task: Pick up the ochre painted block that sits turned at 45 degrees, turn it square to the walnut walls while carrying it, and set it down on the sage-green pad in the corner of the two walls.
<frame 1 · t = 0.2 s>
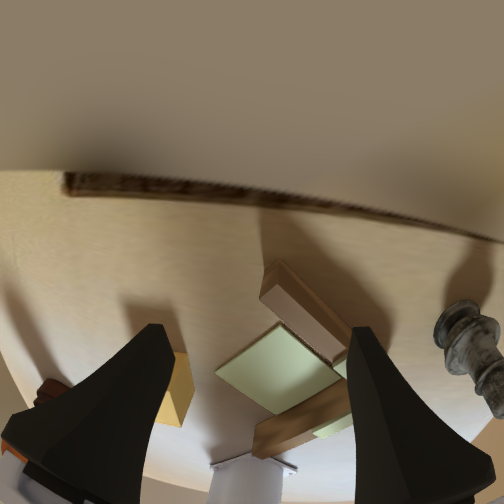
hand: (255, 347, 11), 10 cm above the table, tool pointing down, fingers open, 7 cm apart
sage pad: (278, 375, 24), on the table
figurine: (71, 400, 32), on the table
grey stone finial: (456, 324, 21), on the table
ochre block: (167, 369, 26), on the table
walnut walls: (374, 363, 23), on the table
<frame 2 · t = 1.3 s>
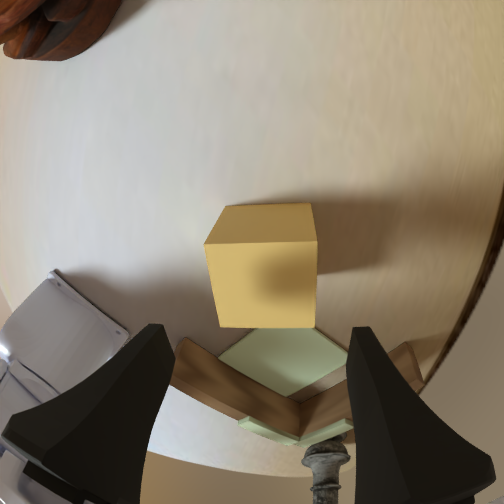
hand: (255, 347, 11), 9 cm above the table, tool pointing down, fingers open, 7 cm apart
sage pad: (285, 358, 23), on the table
figurine: (78, 7, 11), on the table
grey stone finial: (325, 435, 30), on the table
ochre block: (270, 241, 18), on the table
walnut walls: (299, 408, 27), on the table
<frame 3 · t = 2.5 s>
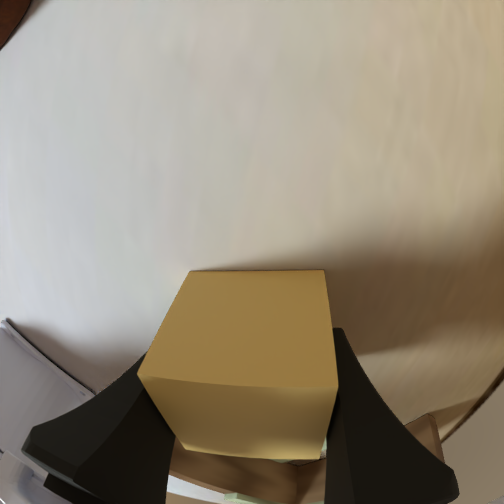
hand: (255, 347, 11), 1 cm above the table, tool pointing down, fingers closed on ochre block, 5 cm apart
ochre block: (259, 322, 12), on the table, touching gripper
walnut walls: (297, 469, 21), on the table
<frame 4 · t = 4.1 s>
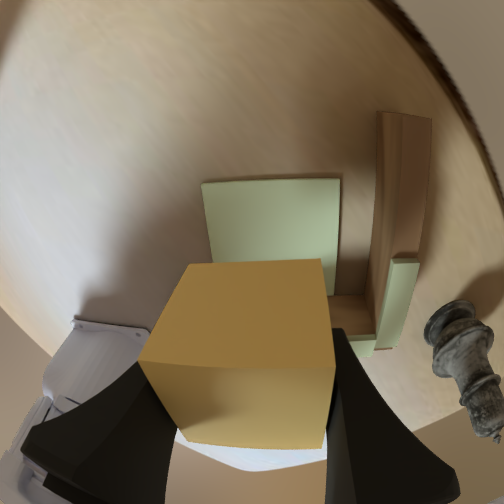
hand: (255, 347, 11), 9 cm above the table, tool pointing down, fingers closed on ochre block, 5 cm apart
sage pad: (273, 241, 18), on the table
grey stone finial: (449, 323, 20), on the table
ochre block: (259, 313, 12), point 7 cm above the table, touching gripper
walnut walls: (372, 302, 20), on the table
when the fingers open (3 cm above the table, at t = 5.7 s): ochre block drops 1 cm, resting on sage pad.
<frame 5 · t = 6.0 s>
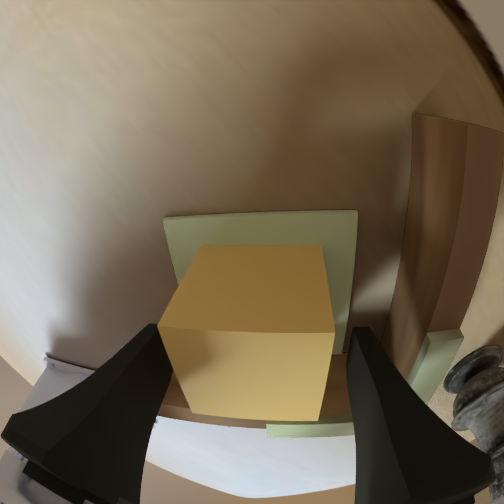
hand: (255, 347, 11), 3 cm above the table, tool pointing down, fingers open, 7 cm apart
sage pad: (263, 293, 14), on the table
grey stone finial: (472, 368, 15), on the table
ochre block: (262, 294, 13), resting on sage pad
walnut walls: (388, 358, 15), on the table
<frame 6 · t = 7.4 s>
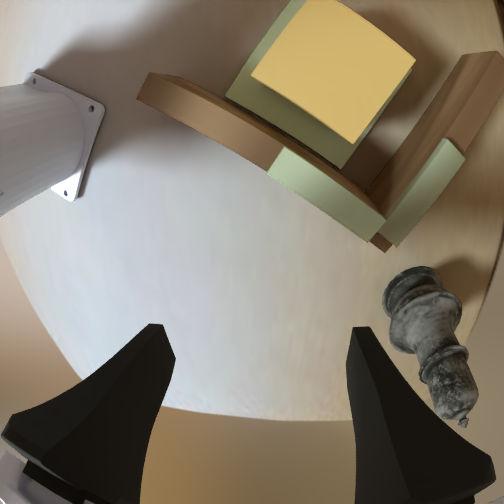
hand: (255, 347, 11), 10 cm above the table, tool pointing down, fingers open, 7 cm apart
sage pad: (321, 76, 14), on the table
grey stone finial: (412, 293, 20), on the table
ochre block: (323, 73, 14), resting on sage pad
walnut walls: (367, 208, 18), on the table
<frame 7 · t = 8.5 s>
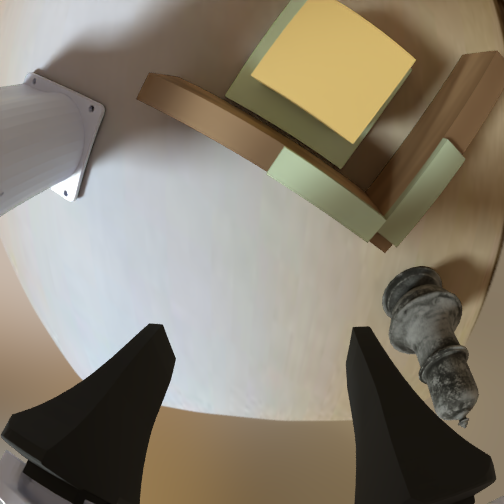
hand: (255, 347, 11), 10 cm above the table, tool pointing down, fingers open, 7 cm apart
sage pad: (321, 76, 14), on the table
grey stone finial: (412, 293, 20), on the table
ochre block: (323, 73, 14), resting on sage pad
walnut walls: (367, 208, 18), on the table
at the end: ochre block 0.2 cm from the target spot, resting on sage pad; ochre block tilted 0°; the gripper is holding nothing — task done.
